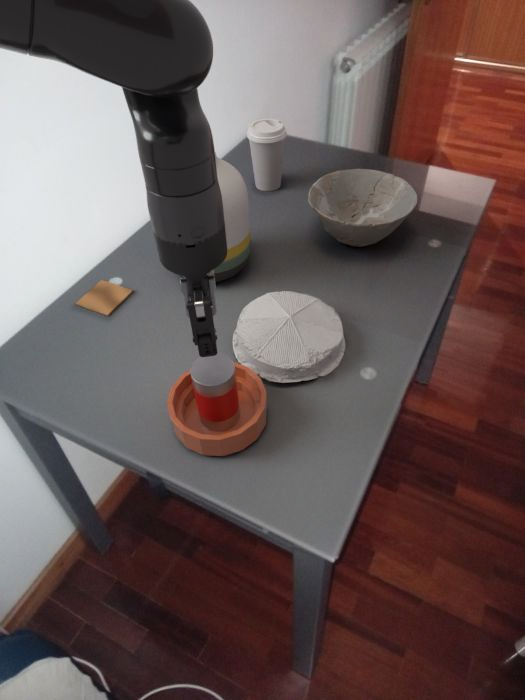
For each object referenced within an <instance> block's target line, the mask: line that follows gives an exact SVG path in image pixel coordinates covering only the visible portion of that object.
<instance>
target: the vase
mask: <svg viewBox="0 0 525 700" xmlns="http://www.w3.org/2000/svg"><path fill="white" fill-rule="evenodd" d="M215 159H216V169H217V177H218V183H219V186H220V190H221V195H222V201H223V211H224V221H225V231H226V241H227V256H226V258H225V260H224V262H223V263H222V264H221V265H220V266H219V267H217V268H216V269H214V273H213V274H214V276H215V283H216V282H221V281H225V280H227V279H230V278H231V277H234V276H235V275H237V274H239V272H241V271H242V269H244V267H245V266H246V264H247V262H248V259H249V257H250V254H251V246H252V245H251V241H252V239H251V220H250V219H251V218H250V201H249V193H248V192H249V191H248V187H247V185H246V181H245V180H244V177H243V175H242V174H241V173H240V171H239V170H238V169H237V168H236V167H234V166H233V164H231V163H229V162H228V161H226V160H224V159H221V158H220V157H218V155H217V153H216V152H215ZM213 274H212V275H213Z"/></svg>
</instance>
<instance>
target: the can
mask: <svg viewBox="0 0 525 700" xmlns="http://www.w3.org/2000/svg"><path fill="white" fill-rule="evenodd" d="M234 362H235V361H233V359H232V358H231V357H230V356H229V355H227V354H225V353H223V352H219V351H217V355H215V356H209V357H201V356H200V355H199V356H198V357H197V358H196V359H194V361H193V362H192V363H191V365H190V369H189V370H190V373H191V378H192V384H193V389H194V394H195V399H196V403H197V408H198V412H199V416H200V420H201V423H202V424H203V425H204V426H205V427H206V428H207V429H209V430H212V431H224V430H228V429H230V428H231V427H233V426H234V425H235V424H236V423H237V421H238V419H239V416H240V411H239V399H238V390H237V381H236V375H235V365H234Z"/></svg>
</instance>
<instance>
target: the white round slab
mask: <svg viewBox="0 0 525 700" xmlns="http://www.w3.org/2000/svg"><path fill="white" fill-rule="evenodd" d="M343 328H344V326H343V322H342V320H341V318H340V315H339V313H338V312H336V310H335V307H334V306H332V305H329V304H327V302H325V300H322V299H321V298H318V297H315V296H314V295H310V294H309V293H307V292H306V293H300V292H296V291H290V290H282V291H271V292H269V291H267V293H265V294H263V295H261V296H258V297H256V298H255V299H253V300H252V301H250V302H249V303H248V304H247V305H245V306H244V307H243V309H242V310H241V311H240V314H239V316H238V319H237V323H236V327H235V330H234V332H233V335H232V349H233V353H234V355H235V359H237V363H238V364H241V365H244V366H247V367H249V368H250V369H251V370H252V371H253V372H254V373H256V374H257V375H258V376H259V377H260V378H261V379H265V380H267V381H269V382H273V383H282V384H285V383H299V382H301V381H304V382H305V381H310V380H315V379H318V378H319V377H325V376H327V375H329V374H330V373H332V372H334V371H335V370H336V369H337V368H338V366H339V365H340V363H341V361H342V359H343V357H344V355H345V351H346V340H345V335H344V329H343Z"/></svg>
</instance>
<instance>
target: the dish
mask: <svg viewBox="0 0 525 700" xmlns="http://www.w3.org/2000/svg"><path fill="white" fill-rule="evenodd" d="M233 362H234V365H235V375H236V381H237V390H238V399H239V411H240V416H239V419H238V421H237V423H236V424H235V425H234V426H233V427H231V428H230V429H228V430H224V431H212V430H209V429H207V428H206V427H205V426H204V425H203V424H202V423H201V420H200V416H199V412H198V408H197V403H196V399H195V394H194V389H193V384H192V378H191V373H190V369H188V370H187V371H185V372H184V373H182V374H181V375H180V376H179V377H178V379H177V380H176V381H175V382H174V384H173V385H172V386H171V388H170V390H169V394H168V398H167V401H166V402H167V403H166V405H167V409H168V413H169V417H170V422H171V424H172V428H173V431H174V435H175V437H176V438H177V439H178V441H180V442H181V443H182V444H183V446H184V447H185V448H186V449H188V450H191V451H193V452H195V453H197V454H200V455H201V456H214V457H225V456H228V455H233V454H234V453H238V452H242V451H243V450H245V449H246V448H247V447H248V446H250V445H252V444H253V443H254V442H256V440H258V439H259V437H260V436H261V433H262V432H263V430H264V428H265V426H266V425H267V419H268V417H267V416H268V396H267V395H268V393H267V389H266V387H265V384H264V382H263V379H262V377H260V376H259V374H258V375H257V374H256V373H254V372H253V371H252V370H251V369H250V368H249V367H247V366H244V365H241V363H239V362H236V361H233Z"/></svg>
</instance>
